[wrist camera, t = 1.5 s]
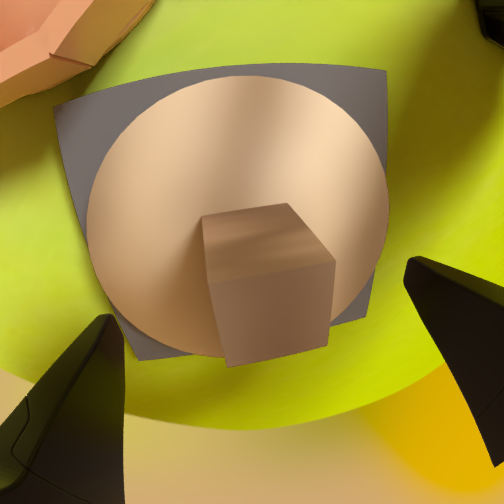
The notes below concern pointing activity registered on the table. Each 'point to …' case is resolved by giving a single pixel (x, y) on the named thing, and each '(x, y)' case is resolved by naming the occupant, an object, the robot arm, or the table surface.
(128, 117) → the mat
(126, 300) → the lid
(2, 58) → the ring
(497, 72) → the table surface
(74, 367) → the robot arm
